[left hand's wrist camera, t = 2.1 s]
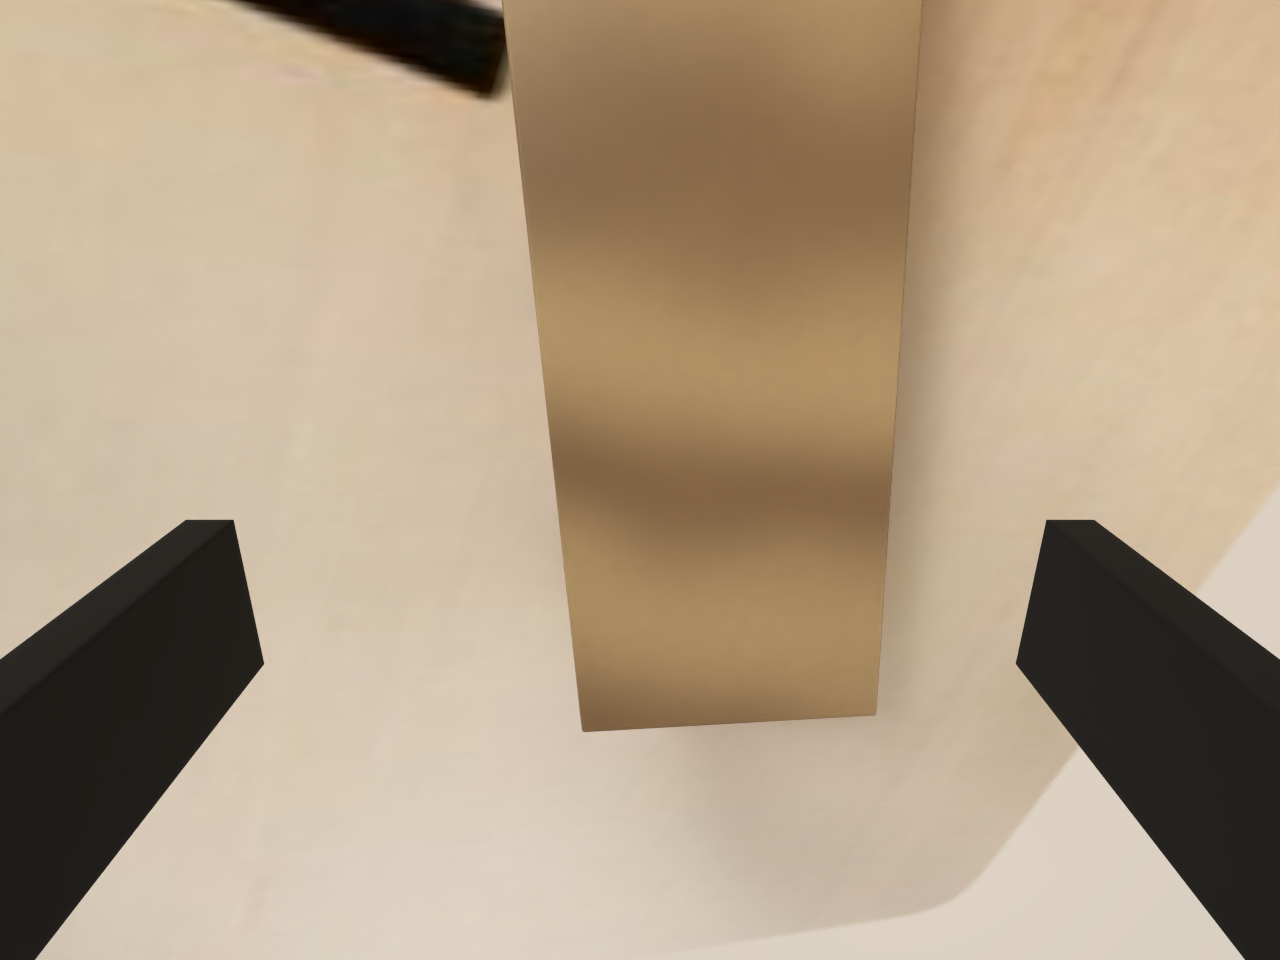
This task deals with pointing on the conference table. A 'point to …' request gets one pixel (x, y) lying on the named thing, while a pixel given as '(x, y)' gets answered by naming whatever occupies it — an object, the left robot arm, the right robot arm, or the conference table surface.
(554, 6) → the wide beam
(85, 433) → the conference table surface
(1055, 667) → the left robot arm
